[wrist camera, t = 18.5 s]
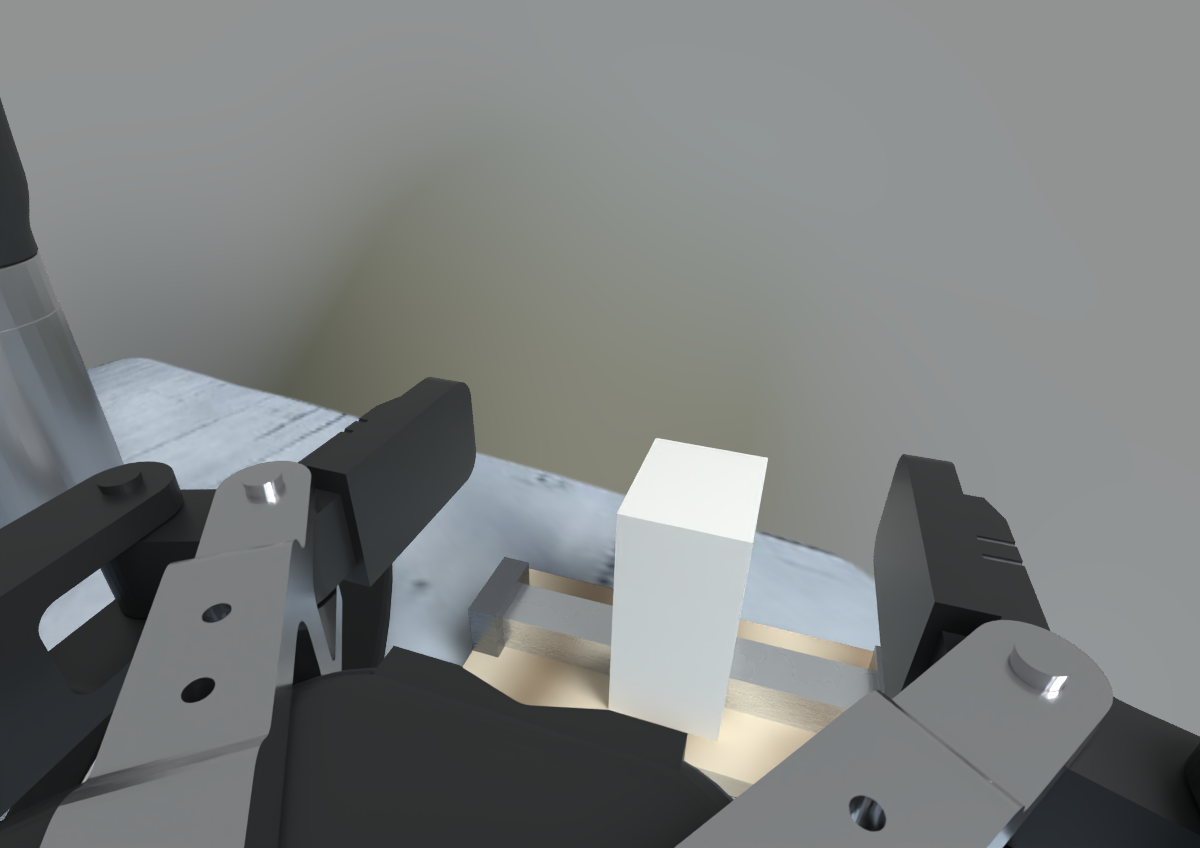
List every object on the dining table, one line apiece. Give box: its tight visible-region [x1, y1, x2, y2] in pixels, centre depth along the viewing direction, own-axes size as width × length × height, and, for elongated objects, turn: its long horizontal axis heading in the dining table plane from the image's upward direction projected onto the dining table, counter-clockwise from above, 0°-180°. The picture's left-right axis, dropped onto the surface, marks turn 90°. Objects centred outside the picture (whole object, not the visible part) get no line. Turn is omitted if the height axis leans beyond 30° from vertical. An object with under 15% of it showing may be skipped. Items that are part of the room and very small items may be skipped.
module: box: [608, 438, 768, 742], centre depth 28 cm, size 5×7×11 cm
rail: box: [469, 557, 885, 733], centre depth 30 cm, size 20×4×3 cm, turn 72°
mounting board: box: [463, 569, 874, 798], centre depth 31 cm, size 20×9×1 cm, turn 72°
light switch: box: [4, 564, 392, 819], centre depth 30 cm, size 20×3×14 cm
